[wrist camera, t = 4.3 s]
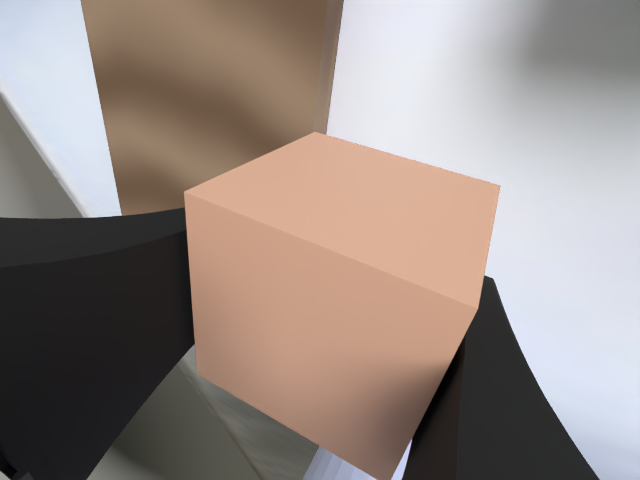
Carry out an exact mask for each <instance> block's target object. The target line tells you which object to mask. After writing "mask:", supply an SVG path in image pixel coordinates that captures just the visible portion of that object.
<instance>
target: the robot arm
mask: <svg viewBox="0 0 640 480" xmlns="http://www.w3.org/2000/svg"><path fill="white" fill-rule="evenodd" d="M194 344H195V338H194V324H193V311H192V297H191V283H190V269H189V255H188V241H187V227H186V213H185V207H184V208H177V209H171V210H165V211H158V212H152V213H144V214H135V215H124V216H112V217H98V218H63V219H28V218H0V471H1V472H2V473H4V474H5V475H6V476H7V477H8V478H9V479H10V480H86V479H87V478H88V477H89V475H90V474H91V472H92V471H93V470H94V468H95V467H96V466H97V464H98V463H99V461H100V460H101V459H102V457H103V456H104V454H105V453H106V452H107V450H108V449H109V447H110V446H111V445H112V443H113V442H114V441H115V439H116V438H117V437H118V436H119V434H120V433H121V432H122V430H123V429H124V428H125V426H126V425H127V424H128V423H129V421H130V420H131V419H132V417H133V416H134V415H135V414H136V412H137V411H138V410H139V408H140V407H141V406H142V405H143V403H144V402H145V401H146V400H147V399H148V397H149V396H150V395H151V394H152V392H153V391H154V390H155V389H156V387H157V386H158V385H159V384H160V383H161V381H162V380H163V379H164V378H165V377H166V375H167V374H168V373H169V372H170V371H171V370H172V369H173V367H174V366H175V365H176V364H177V363H178V362H179V361H180V359H181V358H182V357H183V356H184V355H185V354H186V352H187V351H188V350H189V349H190V348H191V347H192V346H193V345H194ZM303 480H377V479H375V478H373V477H372V476H370V475H368V474H367V473H365V472H363V471H362V470H360V469H358V468H356V467H355V466H353V465H351V464H350V463H348V462H346V461H345V460H343V459H341V458H339V457H338V456H336V455H334V454H333V453H331V452H329V451H327V450H326V449H324V448H322V447H321V446H319V448H318V450H317V452H316V454H315V456H314V458H313V460H312V462H311V464H310V466H309V468H308V470H307V472H306V474H305V476H304V478H303ZM391 480H600V479H599V478H598V477H597V475H596V474H595V473H594V471H593V470H592V468H591V467H590V466H589V464H588V463H587V461H586V460H585V459H584V457H583V456H582V454H581V453H580V451H579V450H578V448H577V447H576V445H575V444H574V442H573V441H572V439H571V438H570V436H569V435H568V433H567V432H566V430H565V428H564V427H563V425H562V423H561V422H560V420H559V419H558V417H557V415H556V414H555V412H554V411H553V409H552V407H551V406H550V404H549V403H548V401H547V399H546V397H545V396H544V394H543V392H542V390H541V389H540V387H539V385H538V383H537V381H536V379H535V377H534V375H533V373H532V371H531V369H530V368H529V366H528V363H527V361H526V359H525V357H524V355H523V353H522V351H521V349H520V346H519V344H518V342H517V339H516V337H515V335H514V333H513V330H512V328H511V325H510V323H509V320H508V318H507V315H506V313H505V310H504V307H503V305H502V302H501V299H500V296H499V293H498V290H497V287H496V284H495V282H494V280H493V278H490V277H488V276H485V275H484V279H483V284H482V290H481V295H480V301H479V306H478V310H477V312H476V314H475V316H474V318H473V320H472V322H471V323H470V325H469V327H468V329H467V331H466V333H465V335H464V337H463V339H462V341H461V343H460V345H459V347H458V349H457V351H456V353H455V355H454V357H453V359H452V361H451V363H450V365H449V367H448V369H447V371H446V373H445V375H444V376H443V378H442V380H441V382H440V384H439V386H438V388H437V390H436V392H435V394H434V396H433V398H432V400H431V402H430V404H429V406H428V408H427V410H426V412H425V414H424V416H423V418H422V420H421V422H420V424H419V426H418V428H417V429H416V431H415V433H414V435H413V437H412V439H411V441H410V443H409V445H408V447H407V449H406V451H405V453H404V455H403V457H402V459H401V461H400V463H399V465H398V467H397V469H396V471H395V473H394V475H393V477H392V479H391Z"/></svg>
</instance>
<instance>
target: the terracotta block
mask: <svg viewBox="0 0 640 480" xmlns="http://www.w3.org/2000/svg"><path fill="white" fill-rule="evenodd" d="M499 191H500V185H496V184H493V183H490V182H486V181H483V180H479V179H476V178H472V177H469V176H465V175H462V174H459V173H455V172H452V171H448V170H445V169H441V168H438V167H435V166H431V165H428V164H424V163H421V162H417V161H414V160H410V159H407V158H404V157H400V156H397V155H393V154H390V153H386V152H383V151H380V150H376V149H373V148H369V147H366V146H362V145H359V144H355V143H352V142H349V141H345V140H342V139H338V138H335V137H331V136H328V135H325V134H321V133H318V132H313V133H311V134H309V135H307V136H305V137H303V138H300V139H298V140H296V141H294V142H292V143H289V144H287V145H285V146H283V147H281V148H278V149H276V150H274V151H272V152H270V153H267V154H265V155H263V156H261V157H259V158H257V159H254V160H252V161H250V162H248V163H246V164H243V165H241V166H239V167H237V168H235V169H232V170H230V171H228V172H226V173H224V174H222V175H219V176H217V177H215V178H213V179H211V180H208V181H206V182H204V183H202V184H200V185H197V186H195V187H193V188H191V189H189V190H187V191H184V200H185V213H186V227H187V241H188V255H189V269H190V283H191V297H192V311H193V324H194V338H195V352H196V366H197V374H198V375H200V376H202V377H203V378H205V379H207V380H208V381H210V382H212V383H214V384H215V385H217V386H219V387H220V388H222V389H224V390H225V391H227V392H229V393H231V394H232V395H234V396H236V397H237V398H239V399H241V400H242V401H244V402H246V403H248V404H249V405H251V406H253V407H254V408H256V409H258V410H259V411H261V412H263V413H265V414H266V415H268V416H270V417H271V418H273V419H275V420H276V421H278V422H280V423H282V424H283V425H285V426H287V427H288V428H290V429H292V430H293V431H295V432H297V433H299V434H300V435H302V436H304V437H305V438H307V439H309V440H310V441H312V442H314V443H316V444H317V445H319V446H321V447H322V448H324V449H326V450H327V451H329V452H331V453H333V454H334V455H336V456H338V457H339V458H341V459H343V460H345V461H346V462H348V463H350V464H351V465H353V466H355V467H356V468H358V469H360V470H362V471H363V472H365V473H367V474H368V475H370V476H372V477H373V478H375V479H377V480H391V479H392V477H393V475H394V473H395V471H396V469H397V467H398V465H399V463H400V461H401V459H402V457H403V455H404V453H405V451H406V449H407V447H408V445H409V443H410V441H411V439H412V437H413V435H414V433H415V431H416V429H417V428H418V426H419V424H420V422H421V420H422V418H423V416H424V414H425V412H426V410H427V408H428V406H429V404H430V402H431V400H432V398H433V396H434V394H435V392H436V390H437V388H438V386H439V384H440V382H441V380H442V378H443V376H444V375H445V373H446V371H447V369H448V367H449V365H450V363H451V361H452V359H453V357H454V355H455V353H456V351H457V349H458V347H459V345H460V343H461V341H462V339H463V337H464V335H465V333H466V331H467V329H468V327H469V325H470V323H471V322H472V320H473V318H474V316H475V314H476V312H477V310H478V306H479V301H480V295H481V290H482V284H483V279H484V273H485V268H486V262H487V257H488V251H489V246H490V240H491V235H492V229H493V224H494V218H495V213H496V207H497V202H498V196H499Z"/></svg>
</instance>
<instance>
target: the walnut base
mask: <svg viewBox="0 0 640 480" xmlns="http://www.w3.org/2000/svg"><path fill="white" fill-rule="evenodd" d="M343 1H344V0H81V5H82V10H83V16H84V21H85V26H86V31H87V36H88V42H89V47H90V52H91V57H92V62H93V68H94V73H95V78H96V83H97V88H98V94H99V99H100V104H101V109H102V114H103V120H104V125H105V130H106V135H107V140H108V146H109V151H110V156H111V161H112V166H113V172H114V177H115V182H116V187H117V192H118V198H119V203H120V208H121V213H122V216H124V215H135V214H144V213H152V212H158V211H165V210H171V209H177V208H184V207H185V200H184V191H187V190H189V189H191V188H193V187H195V186H197V185H200V184H202V183H204V182H206V181H208V180H211V179H213V178H215V177H217V176H219V175H222V174H224V173H226V172H228V171H230V170H232V169H235V168H237V167H239V166H241V165H243V164H246V163H248V162H250V161H252V160H254V159H257V158H259V157H261V156H263V155H265V154H267V153H270V152H272V151H274V150H276V149H278V148H281V147H283V146H285V145H287V144H289V143H292V142H294V141H296V140H298V139H300V138H303V137H305V136H307V135H309V134H311V133H313V132H318V133H321V134H325V135H326V130H327V122H328V115H329V107H330V99H331V92H332V84H333V77H334V69H335V62H336V54H337V47H338V39H339V32H340V24H341V17H342V9H343Z"/></svg>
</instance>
